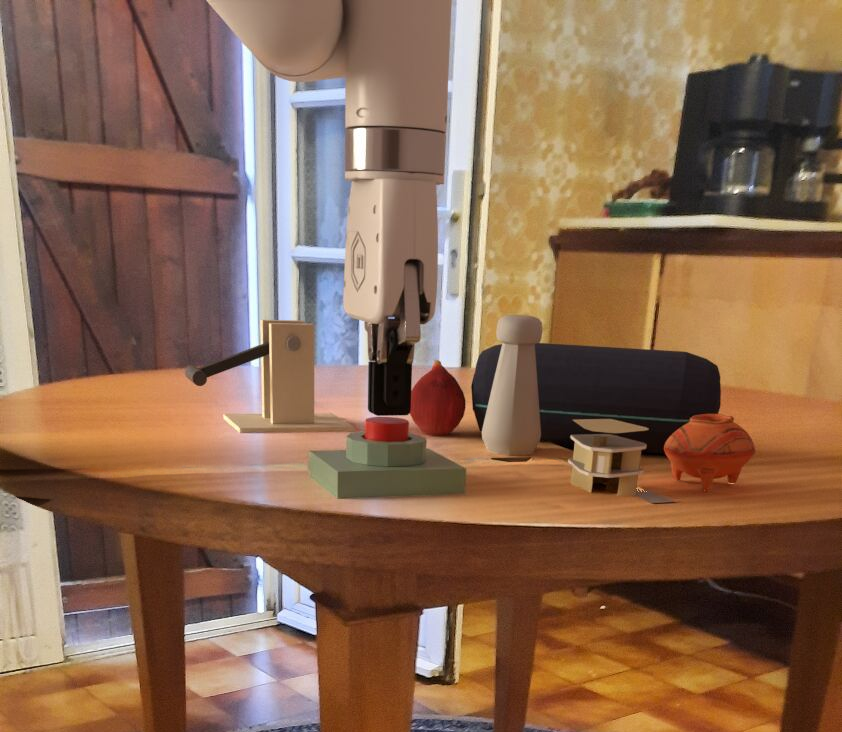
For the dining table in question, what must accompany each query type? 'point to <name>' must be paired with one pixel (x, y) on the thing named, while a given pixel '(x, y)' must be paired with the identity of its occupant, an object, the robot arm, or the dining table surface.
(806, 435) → the dining table surface
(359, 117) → the robot arm
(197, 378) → the lever switch
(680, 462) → the pot
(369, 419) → the button
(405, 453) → the socket block
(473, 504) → the dining table surface
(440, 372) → the onion
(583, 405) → the portable speaker
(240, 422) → the wooden lever stand
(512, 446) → the salt shaker
